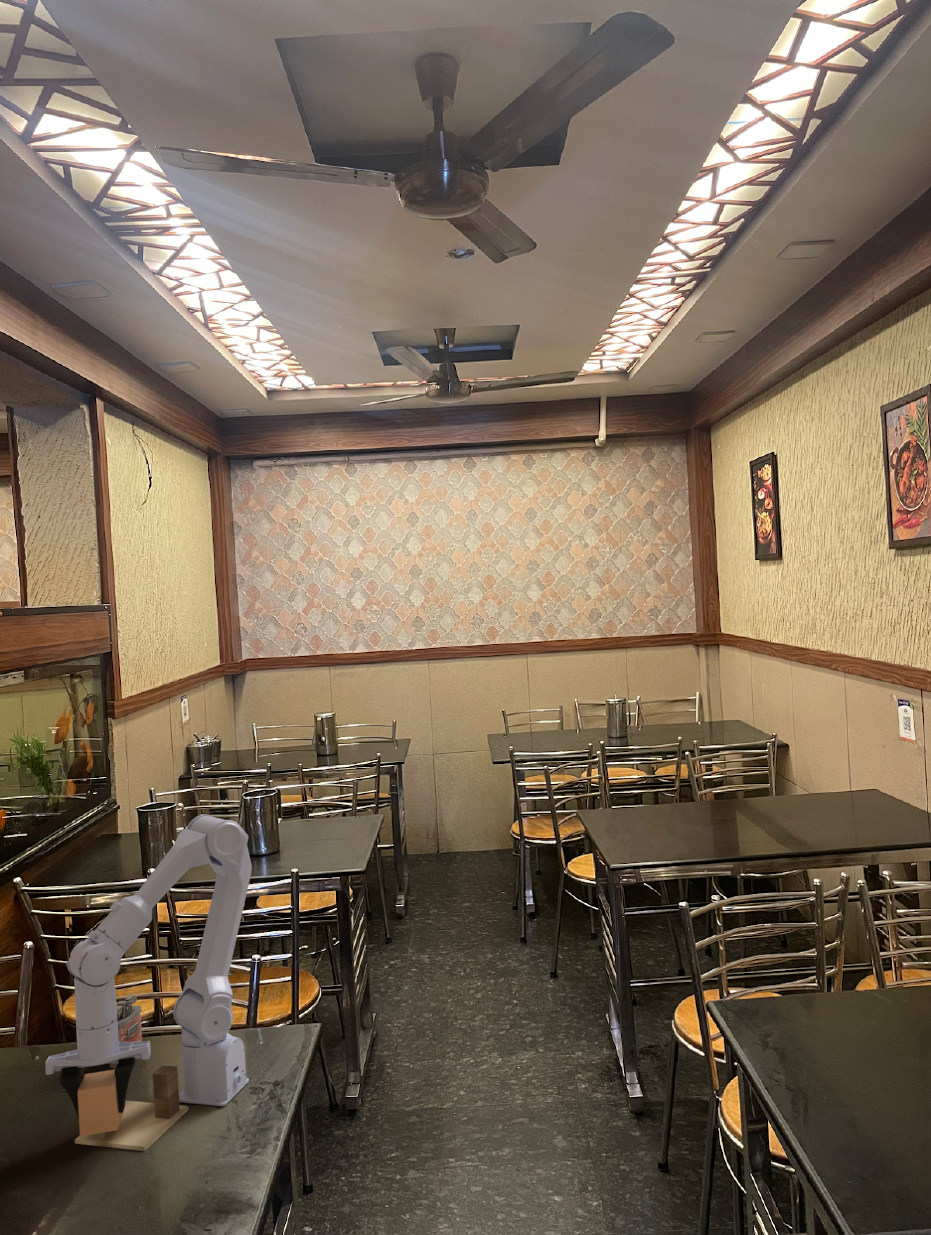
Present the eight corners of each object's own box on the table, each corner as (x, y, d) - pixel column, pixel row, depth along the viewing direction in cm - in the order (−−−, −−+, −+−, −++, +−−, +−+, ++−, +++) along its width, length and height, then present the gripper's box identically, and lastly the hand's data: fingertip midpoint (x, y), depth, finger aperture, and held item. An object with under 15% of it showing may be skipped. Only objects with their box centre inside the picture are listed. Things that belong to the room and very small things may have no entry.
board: (188, 1110, 137) (187, 1106, 137) (144, 1150, 127) (144, 1146, 127) (122, 1103, 141) (122, 1100, 141) (74, 1143, 130) (74, 1139, 130)
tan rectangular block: (123, 1111, 135) (121, 1068, 135) (117, 1129, 130) (114, 1085, 130) (87, 1117, 134) (85, 1074, 134) (80, 1136, 129) (77, 1091, 129)
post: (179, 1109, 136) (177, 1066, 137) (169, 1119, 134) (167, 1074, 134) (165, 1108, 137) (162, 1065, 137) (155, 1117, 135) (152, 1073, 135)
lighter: (122, 1068, 153) (119, 1010, 153) (105, 1067, 154) (101, 1010, 154) (148, 1046, 161) (144, 991, 161) (131, 1045, 162) (128, 991, 162)
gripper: (151, 1004, 137) (156, 1091, 137) (52, 1018, 134) (57, 1107, 134) (144, 1022, 130) (149, 1114, 130) (39, 1038, 127) (44, 1132, 127)
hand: (102, 1112), depth 132 cm, fingers closed on tan rectangular block, 5 cm apart
